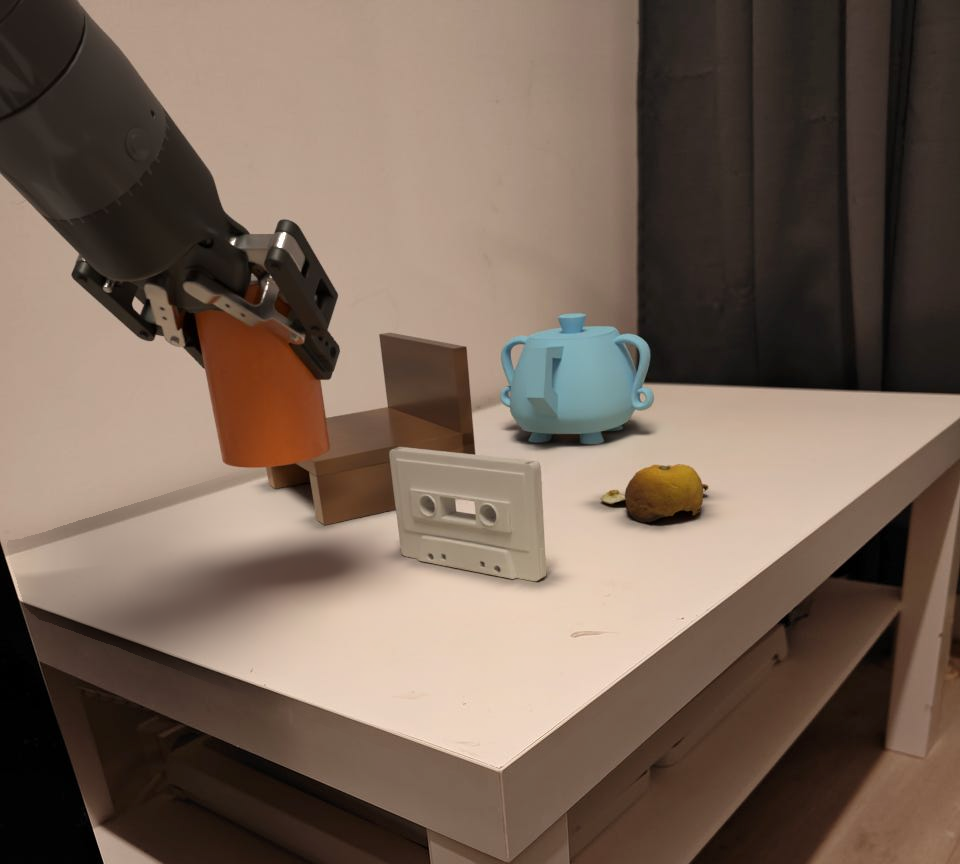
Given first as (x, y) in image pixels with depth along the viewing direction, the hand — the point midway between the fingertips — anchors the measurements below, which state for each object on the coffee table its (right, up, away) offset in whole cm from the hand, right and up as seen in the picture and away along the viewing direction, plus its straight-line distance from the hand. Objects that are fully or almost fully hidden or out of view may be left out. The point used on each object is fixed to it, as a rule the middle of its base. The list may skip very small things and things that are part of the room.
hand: (277, 367), depth 57 cm
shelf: (+2, -3, +27) cm, 27 cm away
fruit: (+27, -6, +15) cm, 31 cm away
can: (0, -5, +1) cm, 5 cm away
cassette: (+12, -12, +7) cm, 18 cm away
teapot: (+23, +5, +40) cm, 46 cm away
